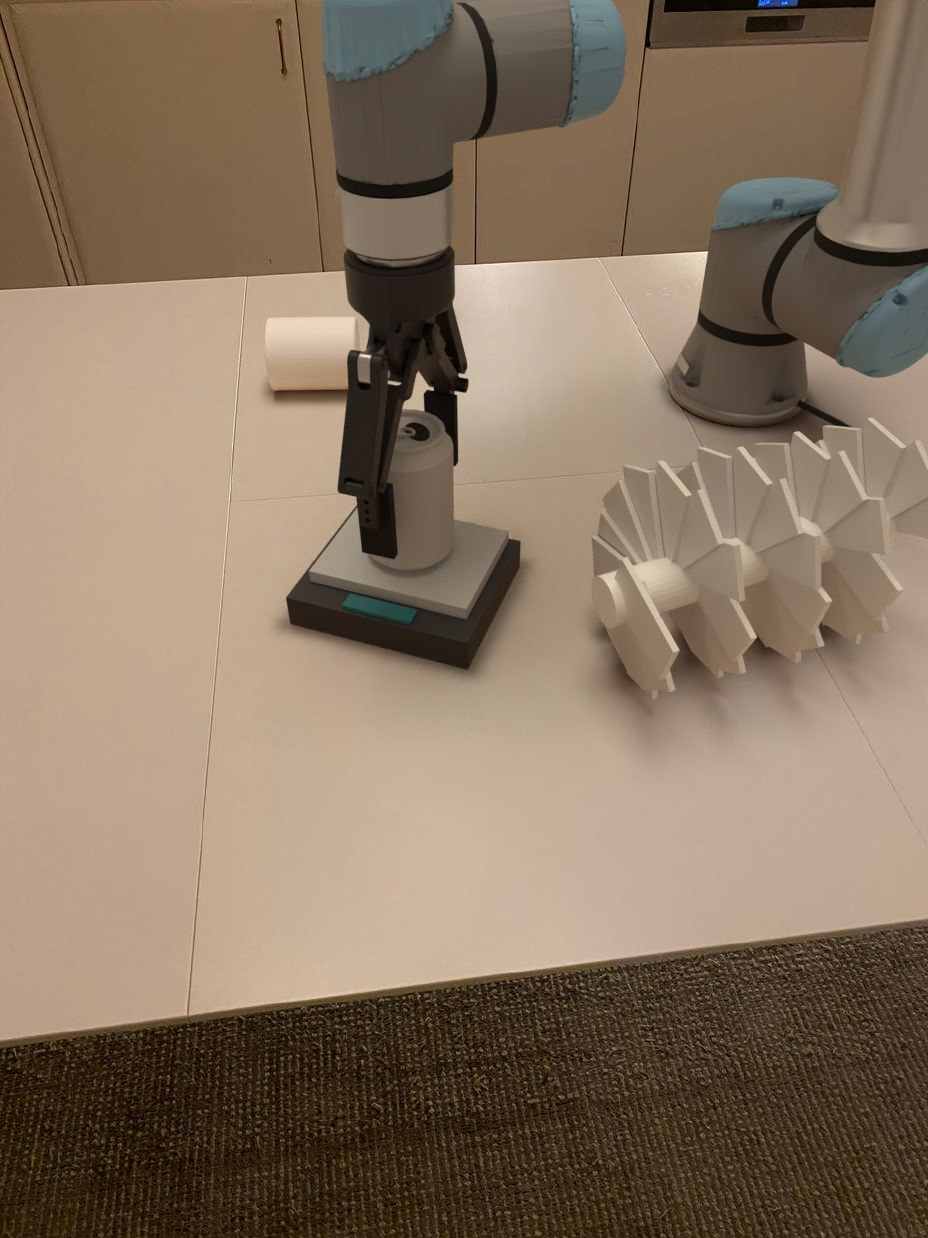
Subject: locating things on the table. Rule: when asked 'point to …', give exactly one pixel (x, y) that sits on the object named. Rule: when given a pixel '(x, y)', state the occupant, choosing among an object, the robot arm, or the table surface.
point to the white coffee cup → (309, 352)
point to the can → (421, 492)
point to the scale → (409, 594)
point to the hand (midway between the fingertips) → (413, 504)
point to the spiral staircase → (756, 548)
